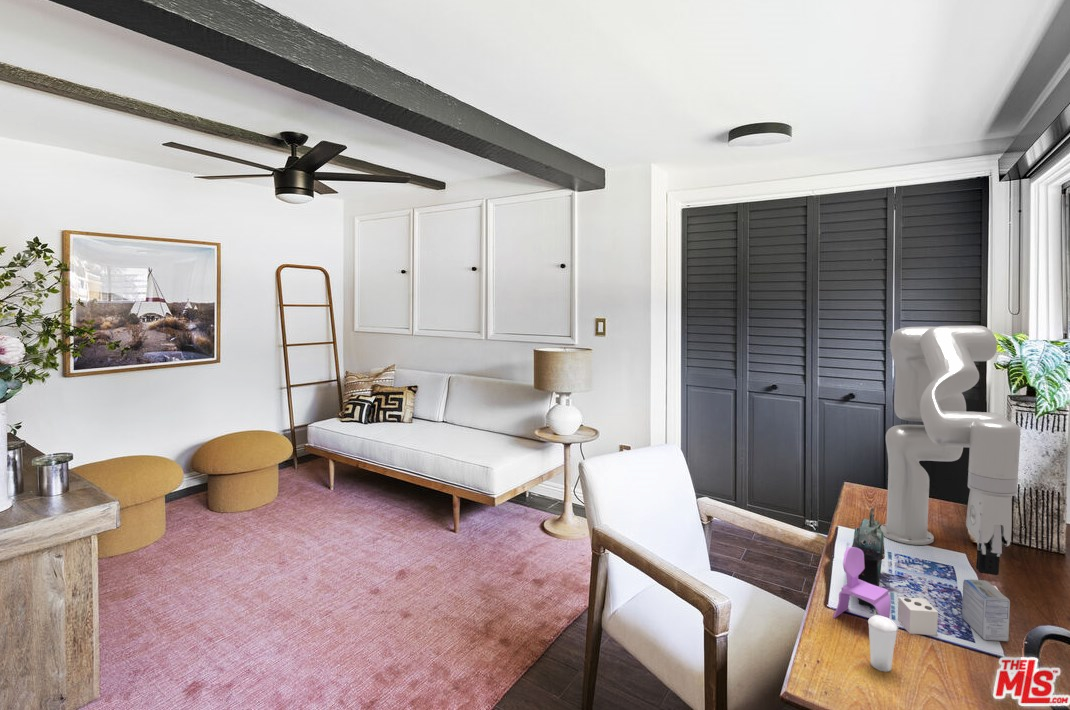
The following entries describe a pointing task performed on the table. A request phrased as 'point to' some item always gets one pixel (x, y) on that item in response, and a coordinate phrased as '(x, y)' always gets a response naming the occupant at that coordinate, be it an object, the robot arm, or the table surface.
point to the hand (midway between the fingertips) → (987, 572)
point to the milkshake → (882, 642)
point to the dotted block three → (917, 616)
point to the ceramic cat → (870, 551)
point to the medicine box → (986, 610)
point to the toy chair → (861, 586)
